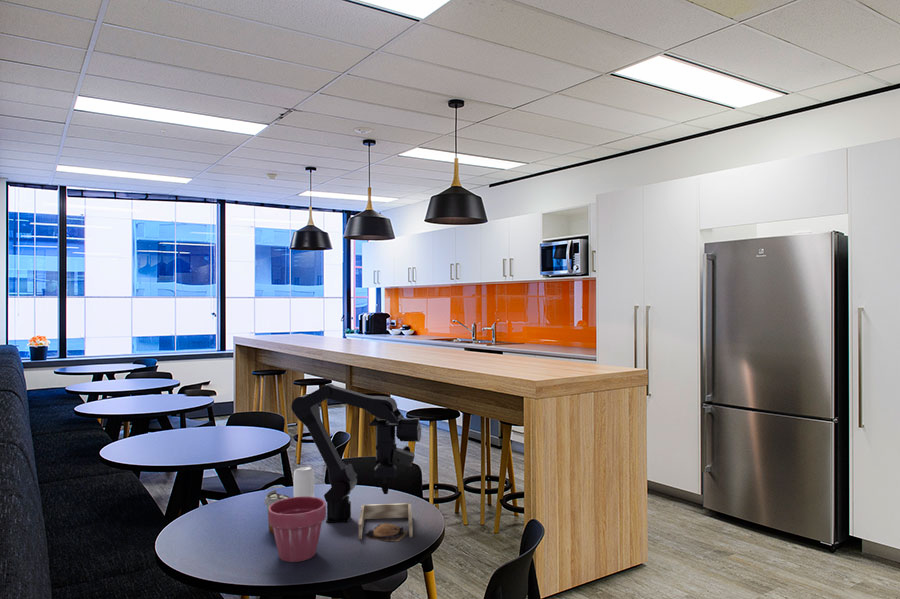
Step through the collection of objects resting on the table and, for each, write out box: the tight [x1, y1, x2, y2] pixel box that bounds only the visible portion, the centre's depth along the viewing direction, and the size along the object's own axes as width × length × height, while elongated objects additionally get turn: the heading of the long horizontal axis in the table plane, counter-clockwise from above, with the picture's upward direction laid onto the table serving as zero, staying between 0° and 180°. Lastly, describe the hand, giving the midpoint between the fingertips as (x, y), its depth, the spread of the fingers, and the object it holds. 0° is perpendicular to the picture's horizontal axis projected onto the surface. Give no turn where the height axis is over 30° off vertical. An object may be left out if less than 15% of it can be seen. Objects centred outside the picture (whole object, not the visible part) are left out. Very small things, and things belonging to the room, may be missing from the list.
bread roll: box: [364, 522, 409, 542], centre depth 170 cm, size 11×8×4 cm
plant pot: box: [267, 496, 327, 563], centre depth 156 cm, size 14×14×13 cm
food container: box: [264, 489, 291, 535], centre depth 172 cm, size 12×6×10 cm, turn 48°
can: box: [293, 465, 315, 497], centre depth 195 cm, size 6×6×12 cm
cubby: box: [358, 502, 413, 540], centre depth 175 cm, size 15×17×4 cm
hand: (385, 493), depth 180 cm, fingers closed
